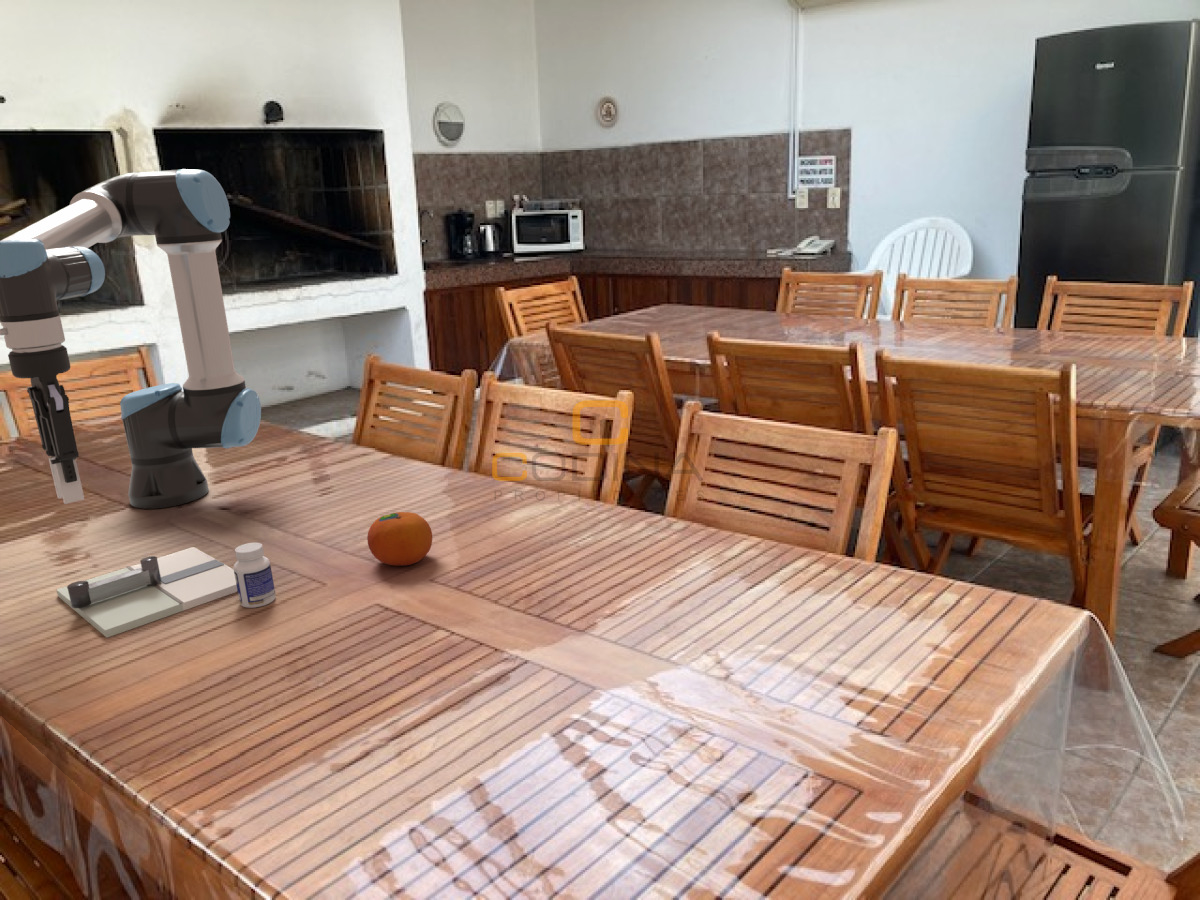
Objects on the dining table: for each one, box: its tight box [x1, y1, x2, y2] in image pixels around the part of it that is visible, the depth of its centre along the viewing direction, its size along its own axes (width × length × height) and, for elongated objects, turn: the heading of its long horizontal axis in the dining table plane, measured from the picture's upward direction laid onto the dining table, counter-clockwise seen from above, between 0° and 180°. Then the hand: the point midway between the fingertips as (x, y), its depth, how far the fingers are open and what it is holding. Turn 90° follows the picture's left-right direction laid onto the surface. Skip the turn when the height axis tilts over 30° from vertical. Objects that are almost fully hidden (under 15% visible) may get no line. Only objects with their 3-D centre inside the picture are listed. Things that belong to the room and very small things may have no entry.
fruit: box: [366, 511, 433, 567], centre depth 155 cm, size 11×10×8 cm
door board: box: [56, 546, 238, 638], centre depth 149 cm, size 22×22×1 cm
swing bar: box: [66, 555, 162, 608], centre depth 145 cm, size 13×3×4 cm, turn 135°
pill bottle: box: [233, 542, 277, 609], centre depth 142 cm, size 5×5×9 cm
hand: (70, 498), depth 144 cm, fingers open, 3 cm apart
